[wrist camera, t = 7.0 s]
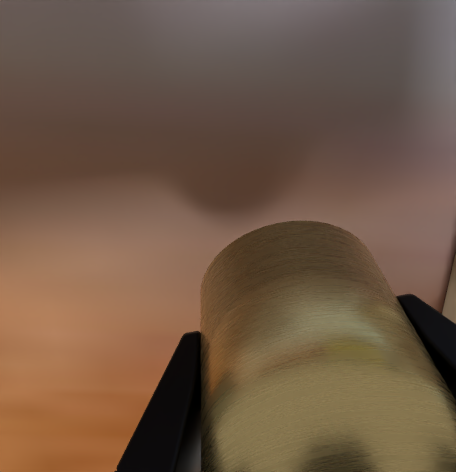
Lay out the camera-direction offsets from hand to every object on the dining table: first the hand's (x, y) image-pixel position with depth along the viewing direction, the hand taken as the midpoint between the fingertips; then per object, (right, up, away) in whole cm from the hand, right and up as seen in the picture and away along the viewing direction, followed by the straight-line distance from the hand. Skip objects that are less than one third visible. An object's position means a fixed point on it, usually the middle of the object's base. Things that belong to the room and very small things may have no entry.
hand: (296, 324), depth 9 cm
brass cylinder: (0, +1, +1) cm, 1 cm away
